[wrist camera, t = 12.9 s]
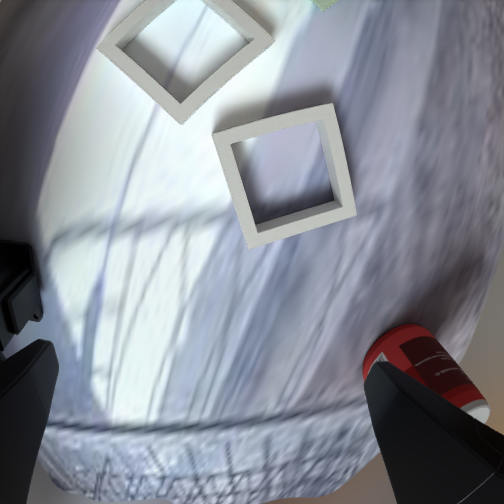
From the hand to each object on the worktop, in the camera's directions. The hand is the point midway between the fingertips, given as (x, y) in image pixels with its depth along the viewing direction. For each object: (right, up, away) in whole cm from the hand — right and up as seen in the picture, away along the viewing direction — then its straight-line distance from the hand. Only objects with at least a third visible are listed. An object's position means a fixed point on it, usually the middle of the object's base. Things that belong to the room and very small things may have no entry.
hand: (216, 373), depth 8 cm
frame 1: (-3, +15, +7) cm, 17 cm away
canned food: (+14, -6, +19) cm, 25 cm away
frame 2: (+3, +8, +11) cm, 14 cm away
